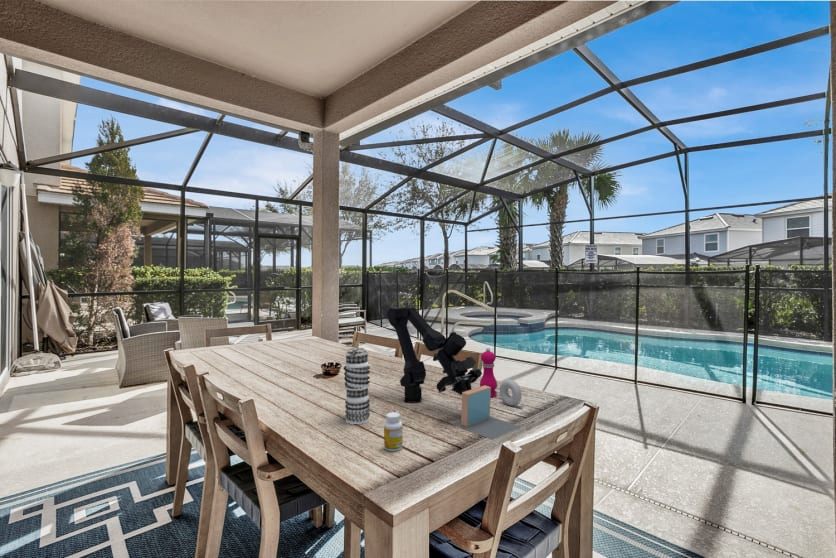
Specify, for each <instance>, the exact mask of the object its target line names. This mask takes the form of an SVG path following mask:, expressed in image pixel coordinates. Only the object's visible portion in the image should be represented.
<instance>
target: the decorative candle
mask: <svg viewBox="0 0 836 558" xmlns="http://www.w3.org/2000/svg"><path fill="white" fill-rule="evenodd" d="M344 355H345V356H346V357H345V360H346V361H345V365H344V366H343V371H344V374H343V375H344V381H345V382H344V388H345V389H346V395H345V402H344V403H345V406H344V407H345V423H347V422H348V423H350V424H349V425H354V424H358V425H363V424H366V423H368V422H369V421H370V420H371V418H370V415H371V414H370V411H371V410H370V401H371V400H370V398H369V396H370V395H369V387H370V383H371V381H370V380H369V379H370V376H369V374H370V373H371V371H370V369H371V366H369V360H368V358H369V356H368V355H369V352H368V351H367V350H366V349H365V348H363V347H352V348H349V349H348V350H347V352H345V353H344ZM348 423H347V424H348ZM362 423H363V424H362Z"/></svg>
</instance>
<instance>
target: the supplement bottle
mask: <svg viewBox="0 0 836 558" xmlns="http://www.w3.org/2000/svg"><path fill="white" fill-rule="evenodd" d="M385 417H386V418H385V422H384V424H383V433H384V435H383V440H384V442H383V445H384V449H385V450H386V451H387V452H399V451H401V450H402V448H403V446H404V445H403V444H404V443H403V440H404V437H403V422H402V421H401V414H400V413H399V412H393V411H392V412H389V413H387V414H386V416H385Z"/></svg>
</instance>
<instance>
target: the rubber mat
mask: <svg viewBox="0 0 836 558" xmlns="http://www.w3.org/2000/svg"><path fill="white" fill-rule="evenodd" d="M452 425H454V426H456V427H458V428H461V429H463V430H466V431H468V432H471V433H474V434H477V435H478V436H482V437H484V438H486V439H489V440H492V441H493V440H495V439H497V438H500V437H502V436H503V435H506V434H508V433H510V432H512V431H514V430H516V429H518V428H521V425H517V424H514V423H512V422H509V421H505V420H502V419H499V418H496V417H494V416H491V415H490V418H489V419H487V420H484V421H482V422H479V423H477V424H474V425H472V426H469V427H465V426H463V425H461V420H459V421H456V422H453V423H452Z"/></svg>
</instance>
